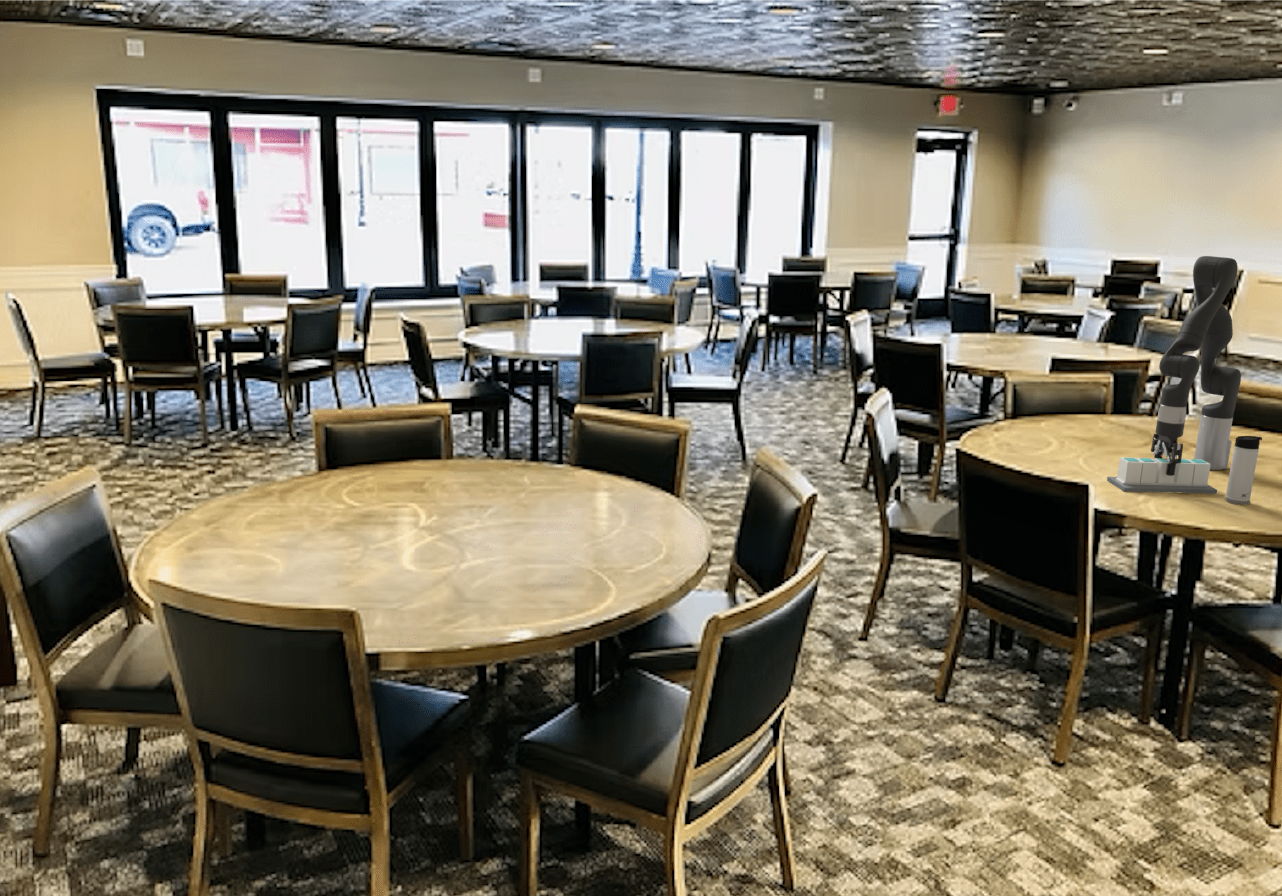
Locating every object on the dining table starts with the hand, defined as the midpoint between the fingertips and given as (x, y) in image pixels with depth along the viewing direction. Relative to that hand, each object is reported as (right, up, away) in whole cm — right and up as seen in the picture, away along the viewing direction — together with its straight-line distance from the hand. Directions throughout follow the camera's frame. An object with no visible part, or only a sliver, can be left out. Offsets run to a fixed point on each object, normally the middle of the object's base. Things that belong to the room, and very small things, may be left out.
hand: (1163, 471), depth 322 cm
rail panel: (0, -5, +1) cm, 5 cm away
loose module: (0, -3, +1) cm, 3 cm away
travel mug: (+16, -9, -12) cm, 22 cm away
